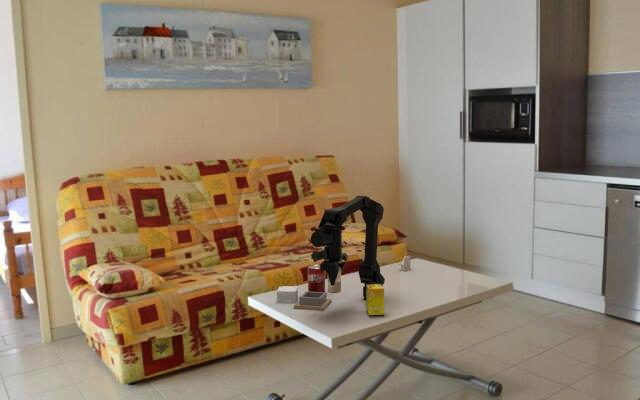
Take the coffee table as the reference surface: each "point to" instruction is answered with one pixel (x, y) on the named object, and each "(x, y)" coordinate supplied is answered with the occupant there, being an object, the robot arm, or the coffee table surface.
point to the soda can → (316, 279)
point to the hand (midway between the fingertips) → (334, 283)
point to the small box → (287, 294)
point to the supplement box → (375, 300)
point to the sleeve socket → (313, 301)
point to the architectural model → (405, 263)
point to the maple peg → (337, 285)
